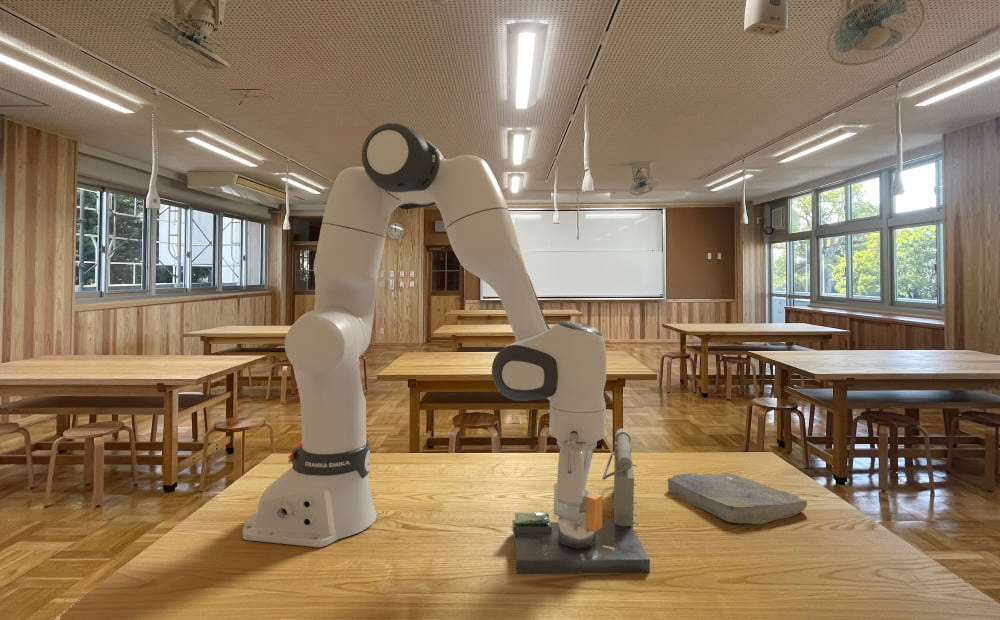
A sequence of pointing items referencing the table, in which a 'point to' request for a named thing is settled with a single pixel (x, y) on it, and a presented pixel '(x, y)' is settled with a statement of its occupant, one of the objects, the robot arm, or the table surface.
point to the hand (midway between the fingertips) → (575, 508)
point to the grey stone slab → (735, 497)
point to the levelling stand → (575, 549)
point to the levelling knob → (579, 520)
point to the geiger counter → (622, 479)
